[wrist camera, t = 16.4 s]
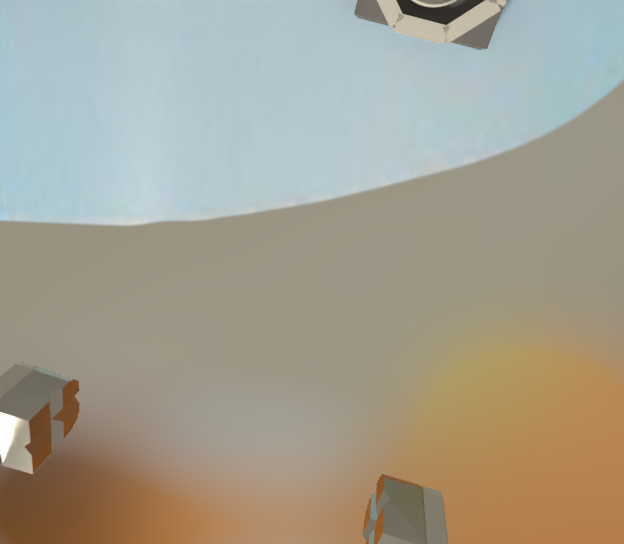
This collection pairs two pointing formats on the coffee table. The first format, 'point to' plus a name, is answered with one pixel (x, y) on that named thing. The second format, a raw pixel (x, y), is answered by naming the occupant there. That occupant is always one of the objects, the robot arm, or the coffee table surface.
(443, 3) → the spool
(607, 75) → the coffee table surface
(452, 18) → the octagonal ring tray
